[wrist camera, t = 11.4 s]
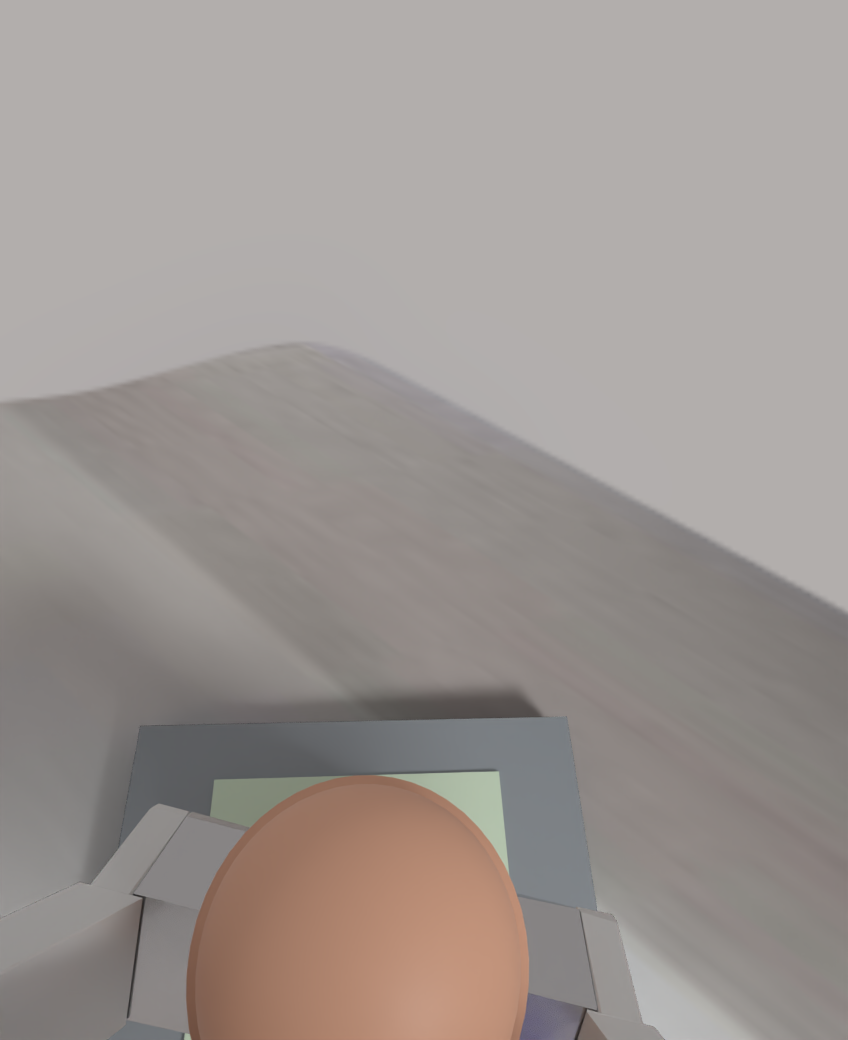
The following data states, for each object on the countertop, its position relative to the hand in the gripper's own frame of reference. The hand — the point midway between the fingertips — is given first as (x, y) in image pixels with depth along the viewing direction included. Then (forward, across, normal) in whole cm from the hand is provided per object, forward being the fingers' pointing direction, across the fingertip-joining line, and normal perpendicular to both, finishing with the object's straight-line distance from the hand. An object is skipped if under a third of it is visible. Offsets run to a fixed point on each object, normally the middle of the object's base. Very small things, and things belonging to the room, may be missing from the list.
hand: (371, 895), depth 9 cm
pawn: (+3, 0, +4) cm, 5 cm away
